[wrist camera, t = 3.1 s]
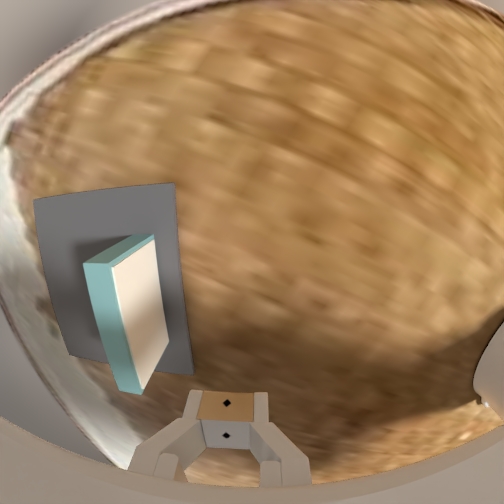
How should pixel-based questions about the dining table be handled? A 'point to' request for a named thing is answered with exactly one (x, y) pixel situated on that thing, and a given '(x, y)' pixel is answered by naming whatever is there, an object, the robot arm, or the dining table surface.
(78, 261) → the mat
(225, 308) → the dining table surface
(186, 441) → the robot arm
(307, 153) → the dining table surface
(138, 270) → the box
